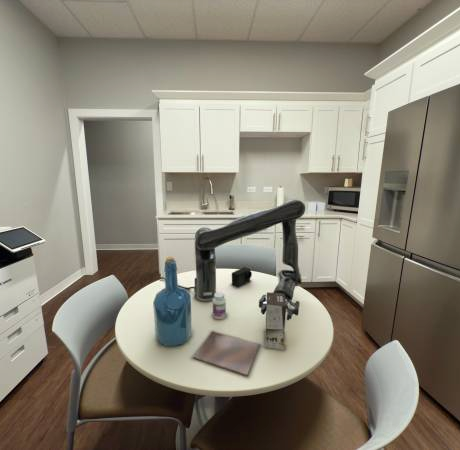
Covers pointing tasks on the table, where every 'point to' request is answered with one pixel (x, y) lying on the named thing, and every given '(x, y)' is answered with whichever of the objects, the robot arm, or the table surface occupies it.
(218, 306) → the pill bottle
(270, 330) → the coffee box
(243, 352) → the wooden board
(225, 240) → the robot arm
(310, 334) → the table surface
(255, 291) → the table surface
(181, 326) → the wine bottle
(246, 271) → the digital camera
